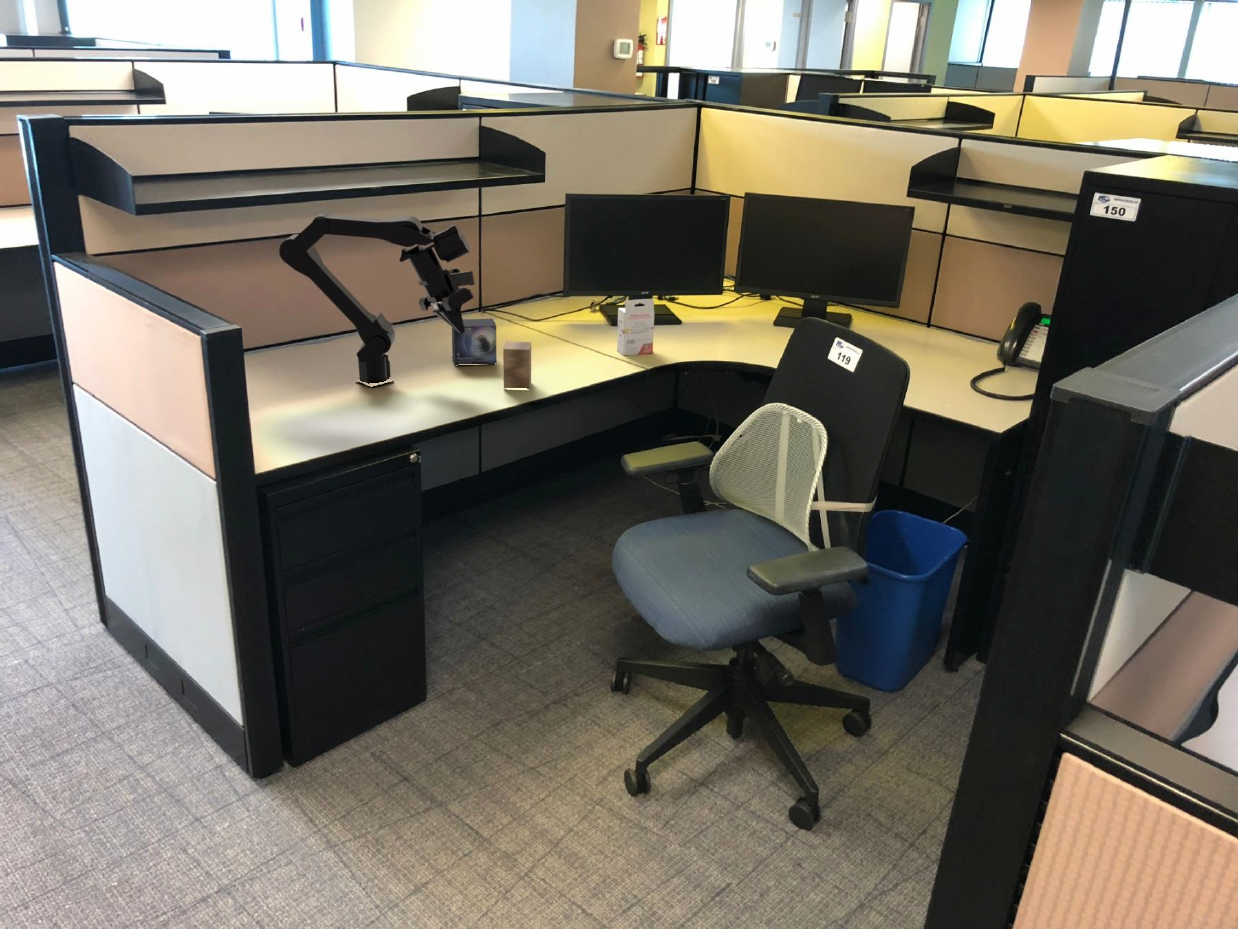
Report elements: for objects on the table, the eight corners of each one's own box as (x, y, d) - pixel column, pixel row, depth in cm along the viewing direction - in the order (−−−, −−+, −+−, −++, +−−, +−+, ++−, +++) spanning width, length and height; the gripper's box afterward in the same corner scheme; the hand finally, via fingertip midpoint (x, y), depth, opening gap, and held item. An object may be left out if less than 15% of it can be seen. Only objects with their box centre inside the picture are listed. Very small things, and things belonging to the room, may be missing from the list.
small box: (454, 367, 238) (453, 326, 233) (451, 359, 243) (450, 319, 239) (497, 365, 240) (496, 324, 236) (493, 357, 246) (492, 317, 242)
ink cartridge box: (645, 348, 259) (648, 294, 253) (653, 353, 254) (655, 298, 248) (616, 350, 256) (618, 296, 250) (623, 356, 251) (625, 300, 245)
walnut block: (503, 390, 224) (503, 348, 220) (505, 382, 229) (505, 341, 225) (529, 391, 224) (529, 349, 220) (531, 382, 229) (531, 342, 225)
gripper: (475, 252, 211) (507, 315, 217) (443, 256, 226) (473, 315, 233) (434, 276, 207) (468, 340, 213) (404, 278, 222) (436, 338, 228)
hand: (462, 332), depth 222 cm, fingers closed
